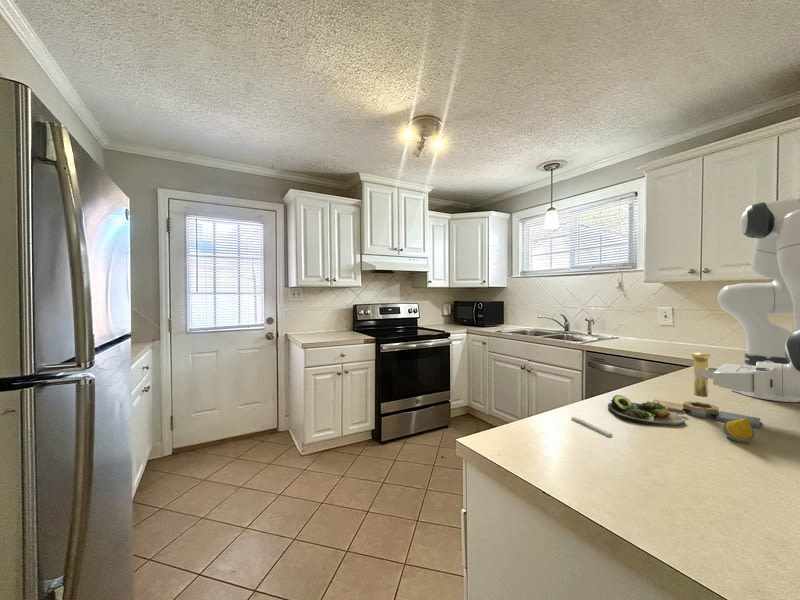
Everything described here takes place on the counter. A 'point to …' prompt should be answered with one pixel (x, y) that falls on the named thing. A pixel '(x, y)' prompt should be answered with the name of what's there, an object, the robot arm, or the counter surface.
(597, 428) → the white rod
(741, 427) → the lemon wedge on dish
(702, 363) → the hinge pin
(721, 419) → the hinge
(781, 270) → the robot arm
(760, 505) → the counter surface
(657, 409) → the salad plate
